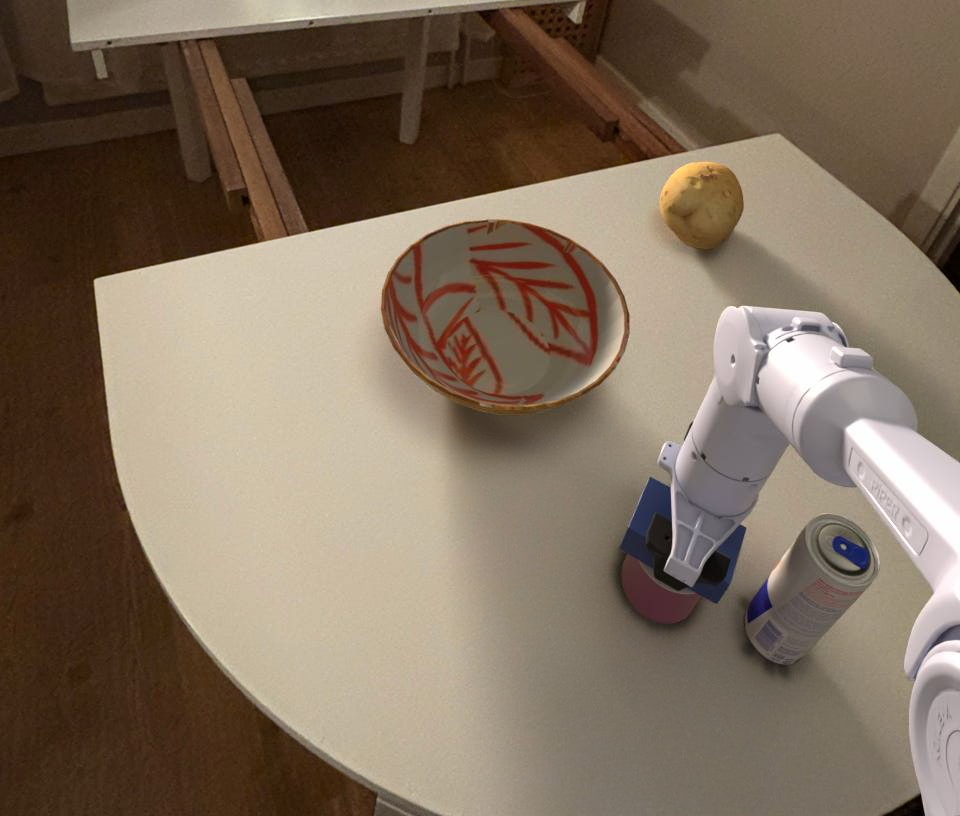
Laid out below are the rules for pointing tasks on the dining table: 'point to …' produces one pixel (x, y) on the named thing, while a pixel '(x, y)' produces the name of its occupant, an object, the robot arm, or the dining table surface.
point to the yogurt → (655, 594)
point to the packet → (659, 501)
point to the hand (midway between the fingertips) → (682, 539)
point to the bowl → (505, 316)
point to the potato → (702, 204)
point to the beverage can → (811, 588)
